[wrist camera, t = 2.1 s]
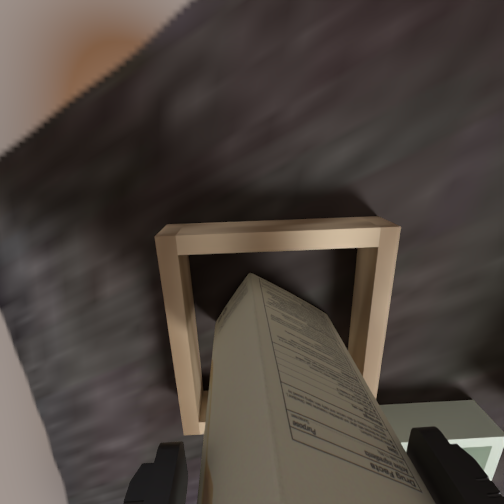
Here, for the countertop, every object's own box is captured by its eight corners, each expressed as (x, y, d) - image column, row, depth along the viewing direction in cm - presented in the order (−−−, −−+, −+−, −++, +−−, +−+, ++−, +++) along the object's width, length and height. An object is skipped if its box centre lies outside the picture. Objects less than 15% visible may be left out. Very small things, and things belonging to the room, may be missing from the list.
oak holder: (377, 216, 16) (401, 226, 14) (357, 393, 21) (372, 424, 18) (167, 224, 16) (154, 236, 14) (190, 402, 20) (183, 435, 18)
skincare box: (213, 322, 18) (166, 613, 7) (249, 268, 17) (267, 506, 6) (295, 363, 20) (374, 667, 8) (333, 316, 18) (490, 589, 7)
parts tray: (473, 399, 21) (507, 436, 18) (445, 494, 25) (471, 537, 22) (318, 408, 21) (329, 446, 18) (312, 503, 24) (321, 547, 22)
